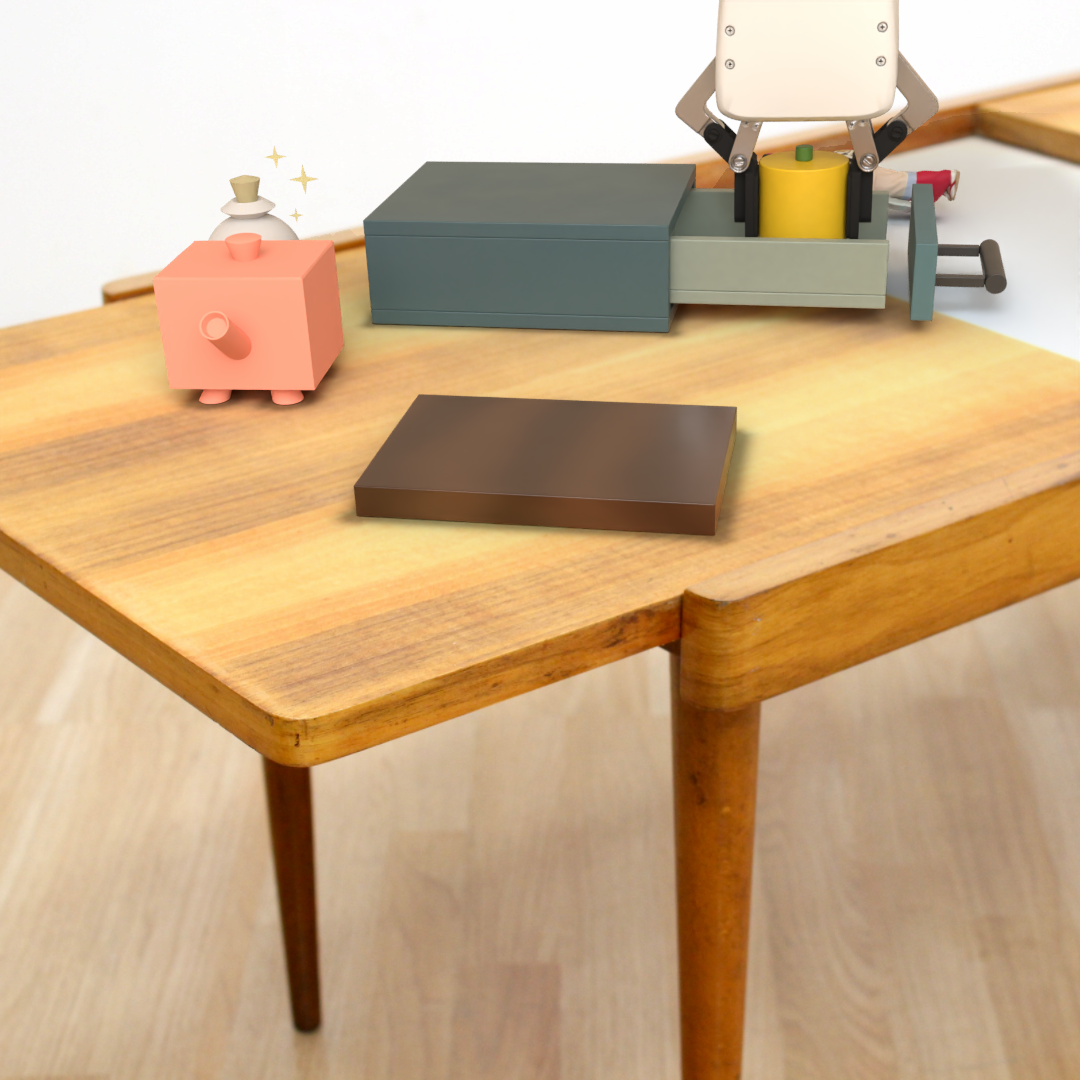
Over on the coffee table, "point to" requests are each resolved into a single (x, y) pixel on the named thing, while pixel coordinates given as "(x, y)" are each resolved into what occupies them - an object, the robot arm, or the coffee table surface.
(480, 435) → the board
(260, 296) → the pink cube teapot
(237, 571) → the coffee table surface
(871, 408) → the coffee table surface
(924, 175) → the figurine
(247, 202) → the corked potion bottle
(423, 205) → the cabinet
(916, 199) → the drawer
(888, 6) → the robot arm
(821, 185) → the pepper
